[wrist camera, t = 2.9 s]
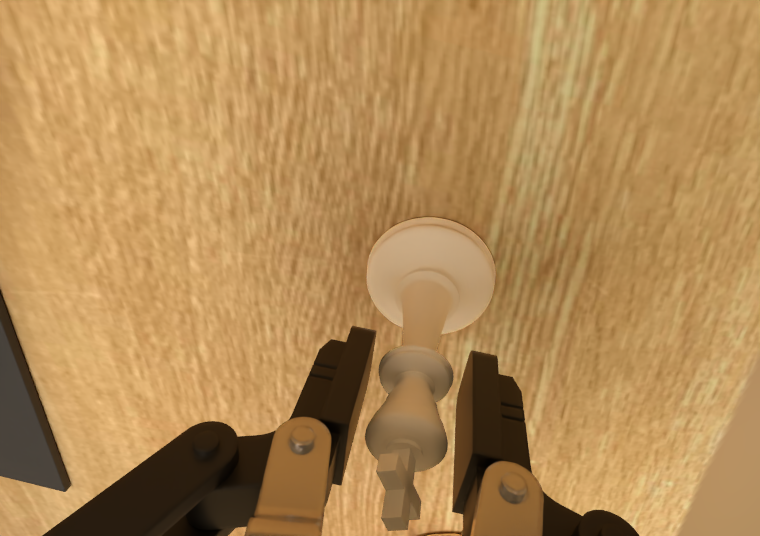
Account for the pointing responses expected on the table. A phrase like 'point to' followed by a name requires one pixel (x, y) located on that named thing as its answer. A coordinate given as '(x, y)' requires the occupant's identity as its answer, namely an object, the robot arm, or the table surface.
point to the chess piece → (420, 345)
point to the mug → (444, 535)
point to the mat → (24, 420)
